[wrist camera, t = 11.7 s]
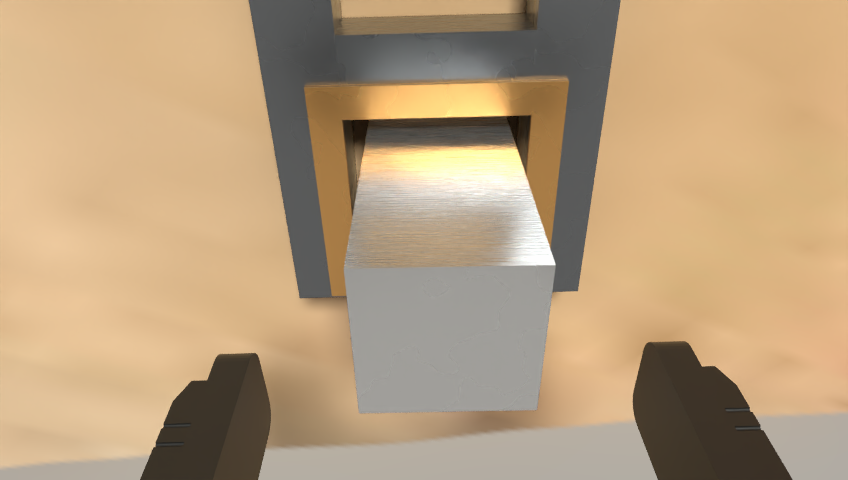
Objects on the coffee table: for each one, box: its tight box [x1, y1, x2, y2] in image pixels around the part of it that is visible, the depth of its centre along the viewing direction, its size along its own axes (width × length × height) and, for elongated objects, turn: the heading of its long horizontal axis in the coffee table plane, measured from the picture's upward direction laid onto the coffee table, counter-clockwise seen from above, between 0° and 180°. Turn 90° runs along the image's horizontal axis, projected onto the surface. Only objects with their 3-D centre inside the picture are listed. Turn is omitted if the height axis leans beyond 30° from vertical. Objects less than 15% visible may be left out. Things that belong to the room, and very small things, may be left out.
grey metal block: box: [344, 116, 556, 413], centre depth 18 cm, size 4×4×9 cm
